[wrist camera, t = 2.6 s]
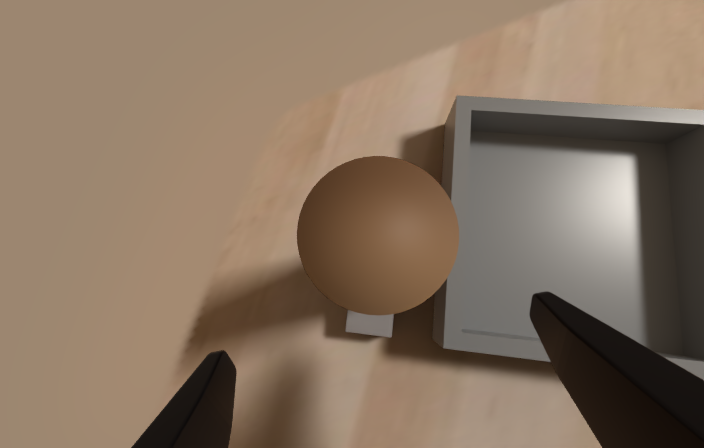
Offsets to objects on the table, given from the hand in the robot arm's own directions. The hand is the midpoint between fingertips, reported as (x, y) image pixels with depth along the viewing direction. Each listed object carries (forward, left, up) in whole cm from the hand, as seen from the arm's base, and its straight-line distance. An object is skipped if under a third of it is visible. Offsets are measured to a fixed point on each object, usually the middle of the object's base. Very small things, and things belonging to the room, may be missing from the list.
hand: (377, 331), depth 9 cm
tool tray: (+5, -10, -9) cm, 14 cm away
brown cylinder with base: (+2, 0, -9) cm, 10 cm away
